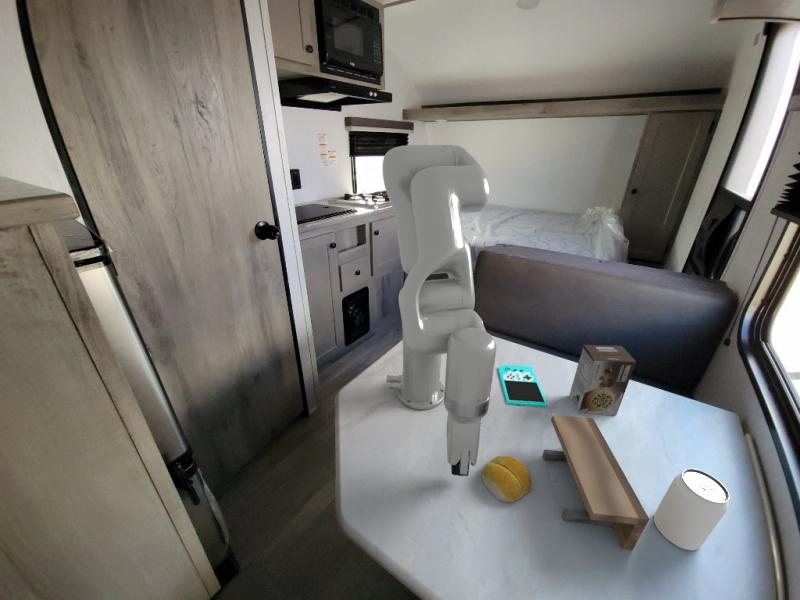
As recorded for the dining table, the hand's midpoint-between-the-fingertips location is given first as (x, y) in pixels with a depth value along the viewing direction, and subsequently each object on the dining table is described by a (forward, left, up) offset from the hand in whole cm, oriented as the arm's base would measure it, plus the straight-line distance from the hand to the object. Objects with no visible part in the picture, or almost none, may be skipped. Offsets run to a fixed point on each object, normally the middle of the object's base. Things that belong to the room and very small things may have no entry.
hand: (459, 471), depth 62 cm
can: (+36, -5, -2) cm, 37 cm away
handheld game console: (+18, +30, -3) cm, 35 cm away
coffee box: (+34, +24, -2) cm, 42 cm away
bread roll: (+9, 0, -3) cm, 10 cm away
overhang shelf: (+23, +1, -2) cm, 23 cm away
